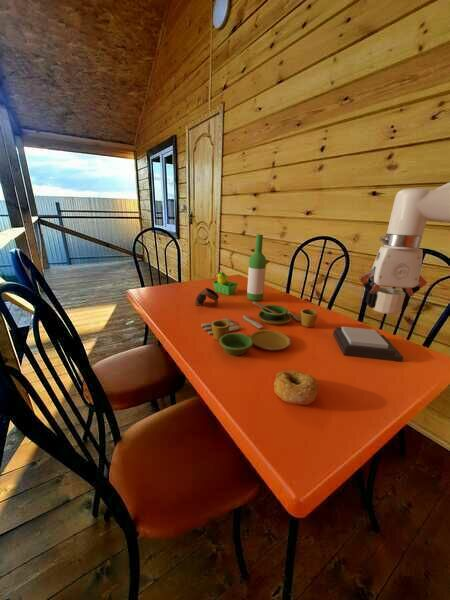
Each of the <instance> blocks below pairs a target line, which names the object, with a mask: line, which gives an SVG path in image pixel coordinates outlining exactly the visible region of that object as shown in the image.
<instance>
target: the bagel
mask: <svg viewBox="0 0 450 600" xmlns="http://www.w3.org/2000/svg"><path fill="white" fill-rule="evenodd" d="M275 376H276V377H275V379H274V381H273V392H274V393H275V395H276V396H277V397H278V398H280V399H281V400H282V401H283V402H287V403H289V404H294V405H300V406H307V405H310V404H312V403H313V402H314V401H316V398H317V396H318V394H319V392H320V391H319V390H320V388H319V382H318V381H317V378H315V377H314V376H312V375H311V374H306V373H303V372H301V371H299V370H280V371H278V372H277V374H275Z"/></svg>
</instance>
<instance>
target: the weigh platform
mask: <svg viewBox="0 0 450 600" xmlns="http://www.w3.org/2000/svg"><path fill="white" fill-rule="evenodd" d="M341 328H342V329H341V331H342V333H343V334H344V336H345V338H346V339H347V341H348V343H349V344H350V345H358V346H367V347H377V348H386V349H388V346H389V345H388V344H387V343H386V341H385V340H384V339H383V338H382V337H381V336H380V335H381V334H380V333H379V334H380V335H379V334H378V332H379V331H378V330H377V329H372V328H363V327H361V328H360V327H352V326H351V327H350V326H341ZM377 331H378V332H377Z"/></svg>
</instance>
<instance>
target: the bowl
mask: <svg viewBox="0 0 450 600" xmlns="http://www.w3.org/2000/svg"><path fill="white" fill-rule="evenodd" d="M375 294H376V295H377V296H376V300H375V304H374V307H373V308H371V309H372V310H373V311H376V312H378V313H382V314H385V315H397V314H400V313H401V312H402V310H401V309H402V305H403V302H404V298H405V295H406V294H405V292H403V290H400V289H397V288H394V287H384V286H380V288H379V289H378V290H377V291H376V292H375Z"/></svg>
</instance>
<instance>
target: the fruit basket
mask: <svg viewBox="0 0 450 600" xmlns="http://www.w3.org/2000/svg"><path fill="white" fill-rule="evenodd" d="M212 285H213V289H214V292H216V293H219V294H222V295H223V294H224V295H227V296H230V295H233V294H235V293H236V290H237V287H238V285H239V283H237V282H234V281H231V280H230V281H229V276H228V275H227V274H226V273H225V272H224V271H219V272H218V274H217V280H215V281H212Z"/></svg>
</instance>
